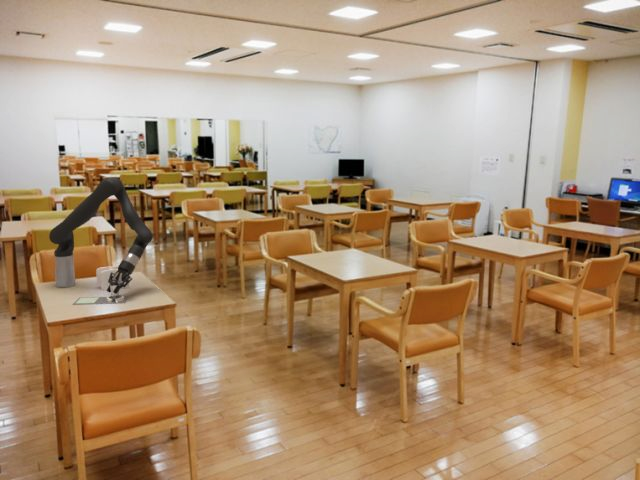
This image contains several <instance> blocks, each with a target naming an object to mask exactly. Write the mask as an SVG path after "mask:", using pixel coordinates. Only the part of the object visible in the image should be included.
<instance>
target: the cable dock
mask: <svg viewBox="0 0 640 480" xmlns="http://www.w3.org/2000/svg"><path fill="white" fill-rule="evenodd" d="M129 298H131V295H126V296H124V295H123V294H119V298H117V299H115V301H112V299H111V294H110V295H108V296H90V297H89V296H88V297H84V296H82V297H78V299H76V301H74V303H72V304H71V305H72V306H81V305H82V306H83V305H115V304H116V305H117V304H118V305H119V304H121V305H122V304H126V303H127V301H128V300H129Z"/></svg>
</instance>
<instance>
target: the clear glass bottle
mask: <svg viewBox="0 0 640 480" xmlns="http://www.w3.org/2000/svg"><path fill="white" fill-rule="evenodd" d="M116 286H118V280H111V281H110V292H109V293H110V295H111V299H112V301H115V299H117V298H119V295H120V291H119V292H118V293H117V294H115V293H114V292H113V291H114V289H115V288H116Z"/></svg>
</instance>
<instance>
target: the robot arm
mask: <svg viewBox="0 0 640 480" xmlns="http://www.w3.org/2000/svg"><path fill="white" fill-rule="evenodd" d="M112 196H114V197H115V198H116V199H117V201H118V203H119V205H120V208H121V212H122V216H123V218H124V221H125V222H126V224H127V225H128V227H129V229H131V230H132V231H134V232H135V233H136V237H135V239H134V241H133V243H132V245H131V247H130V248H129V249H128V250H127V253H126V254H125V255H124V256H123V258H122V260H121V261H120V263H119V264H118V265H119V266H118V271H117V272H116V273H111V274H110V277H109V280H108V283H110V281H111V280H115V279H116V280H118V286H116V288H115V289H114V291H113V292H114V293H115V294H117V293H118V292H119V293H120V291H121V289H120V288H122V287H126V285H127V284H128V283H129V284H130V282H131V281H132V280H133V277H132V276H131V275H132V274H133V272H134V270H135V269H136V267H137V265H138V264H139V261H140V260H141V258H142V256H143V255H144V251H145V249H147V248H146V247H147V246H148V245H149V244H150V243H151V242H152V240H153V237H154V236H153V232H152V230H150V228H149V226H147V225H146V224H145V223H144V222H143V221H142V218H141V217H140V215H139V214H138V212H137V211H136V209H135V207H134V206H133V205H134V204H133V203H132V201H131V199H130V197H129V195H128V193H127V190H126V188H125V185H124V183H123V182H122V180H121V179H120V178H119V177H110V178H109V177H108V178H105V179H103V180H101V181H100V183H98V185H97V186H96V187H95V189H94V190H93V191H92V192H91V193H90V194H89V195H88V196H87V197H86V198H85V199H83V200H82V201H81V202H80V203H79V204H78V205H77V206H76V207H75V208H74V209H73V210H72V211H71V212H70V214H68V215H67V217H65V219H64V220H63V221H61V222H60V223H58V224H57V225H56V226H55V227H53V228H52V229H51V230H50V232H49V235H48V236H49V241H50V242H51V243H53V245H58V246H57V247H56V249H55V250H54V253H53V254H54V263H55V265H54V267H55V269H54V279H55V280H54V281H55V282H54V283H55V287H56V288H70V287H73V286H75V285H76V273H75V262H74V249H75V235H74V231H75V230H76V229H78V228H80V227H81V226H83V225H85V224H86V223H87V222H89V221H90V220H92V218H93V217H95V215H97V213H98V211H99V209H100V207H101V205H102V204H103V203H104V202H105V201H106V200H108V198H111V197H112ZM125 282H126V283H125ZM124 283H125V284H124ZM106 292H108V293H111V292H110V285H109V287H108V288H107V290H106Z"/></svg>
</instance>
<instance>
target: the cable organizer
mask: <svg viewBox="0 0 640 480" xmlns="http://www.w3.org/2000/svg"><path fill="white" fill-rule="evenodd" d="M119 265H120V264H118V265H109V266H100V267H98V268H96V271H95V274H96V285H97V287H98V288H101V290H102V291H107V288H108V287H109V285H110V283H108V280H109V277H110V274H111V273H116V272H117V271H118V266H119ZM115 280H116V279H115ZM125 283H126V282H125ZM125 283H124V284H125ZM129 286H130V282H129V283H128V284H127V285H126V287H122V288H120V290H125V289H127V288H129Z"/></svg>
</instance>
